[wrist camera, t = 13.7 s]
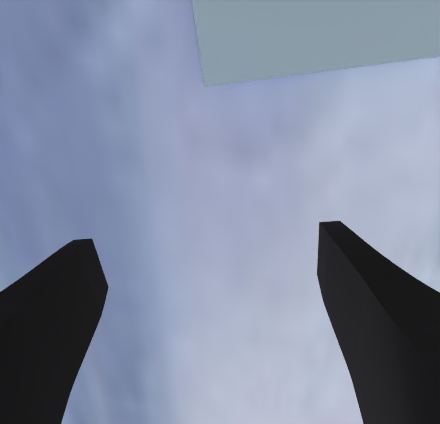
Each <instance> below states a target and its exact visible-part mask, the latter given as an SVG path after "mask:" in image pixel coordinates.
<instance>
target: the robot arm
mask: <svg viewBox="0 0 440 424" xmlns="http://www.w3.org/2000/svg"><path fill="white" fill-rule="evenodd" d="M317 276H318V280H319V285H320V289H321V294H322V298H323V302H324V305H325V308H326V310H327V313H328V316H329V318H330V321H331V324H332V327H333V329H334V332H335V335H336V337H337V340H338V343H339V345H340V348H341V351H342V353H343V356H344V359H345V361H346V364H347V366H348V369H349V373H350V376H351V379H352V382H353V385H354V389H355V393H356V397H357V400H358V404H359V408H360V412H361V415H362V419H363V423H364V424H440V293H439V292H438V291H436V290H434V289H432V288H431V287H429V286H427V285H426V284H424V283H422V282H421V281H419V280H418V279H416V278H414V277H413V276H411V275H410V274H408V273H407V272H405V271H404V270H403V269H401V268H400V267H398V266H397V265H395V264H394V263H392V262H391V261H390V260H388V259H387V258H386V257H384V256H383V255H382V254H380V253H379V252H378V251H376V250H375V249H374V248H372V247H371V246H370V245H369V244H367V243H366V242H365V241H364V240H363V239H361V238H360V237H359V236H358V235H356V234H355V233H354V232H353V231H352V230H350V229H349V228H348V227H347V226H346V225H344V224H343V223H342V222H341V221H331V222H319V244H318V266H317ZM107 291H108V284H107V281H106V278H105V275H104V273H103V270H102V267H101V264H100V261H99V258H98V255H97V252H96V249H95V246H94V243H93V240H92V239H80V240H73V241H71V242H70V243H68V244H67V245H65V246H64V247H62V248H61V249H59V250H58V251H57V252H55V253H54V254H52V255H51V256H50V257H48V258H47V259H46V260H44V261H43V262H42V263H40V264H39V265H38V266H36V267H35V268H34V269H32V270H31V271H29V272H28V273H27V274H25V275H24V276H23V277H21V278H20V279H19V280H17V281H16V282H14V283H13V284H11V285H10V286H8V287H7V288H6V289H4V290H3V291H1V292H0V424H61V422H62V419H63V415H64V412H65V409H66V405H67V402H68V398H69V395H70V392H71V389H72V387H73V384H74V381H75V379H76V376H77V374H78V371H79V369H80V366H81V364H82V362H83V359H84V357H85V354H86V352H87V350H88V347H89V345H90V342H91V340H92V337H93V335H94V333H95V330H96V328H97V325H98V323H99V320H100V317H101V315H102V311H103V307H104V304H105V300H106V295H107Z"/></svg>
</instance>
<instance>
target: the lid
mask: <svg viewBox="0 0 440 424" xmlns="http://www.w3.org/2000/svg"><path fill="white" fill-rule="evenodd" d="M192 6H193V13H194V20H195V27H196V33H197V40H198V47H199V54H200V61H201V68H202V75H203V82H204V87H207V86H215V85H222V84H230V83H238V82H246V81H253V80H261V79H269V78H277V77H284V76H292V75H300V74H308V73H315V72H323V71H331V70H338V69H346V68H354V67H362V66H369V65H377V64H385V63H393V62H400V61H408V60H416V59H424V58H431V57H439V56H440V0H192Z"/></svg>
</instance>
